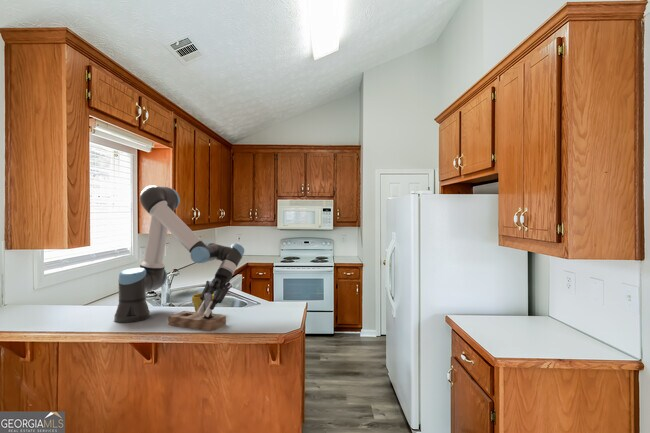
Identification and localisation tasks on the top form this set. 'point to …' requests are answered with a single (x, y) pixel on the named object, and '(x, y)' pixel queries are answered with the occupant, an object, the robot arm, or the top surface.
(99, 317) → the top surface
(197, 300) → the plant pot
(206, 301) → the metal pin
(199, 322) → the walnut block
